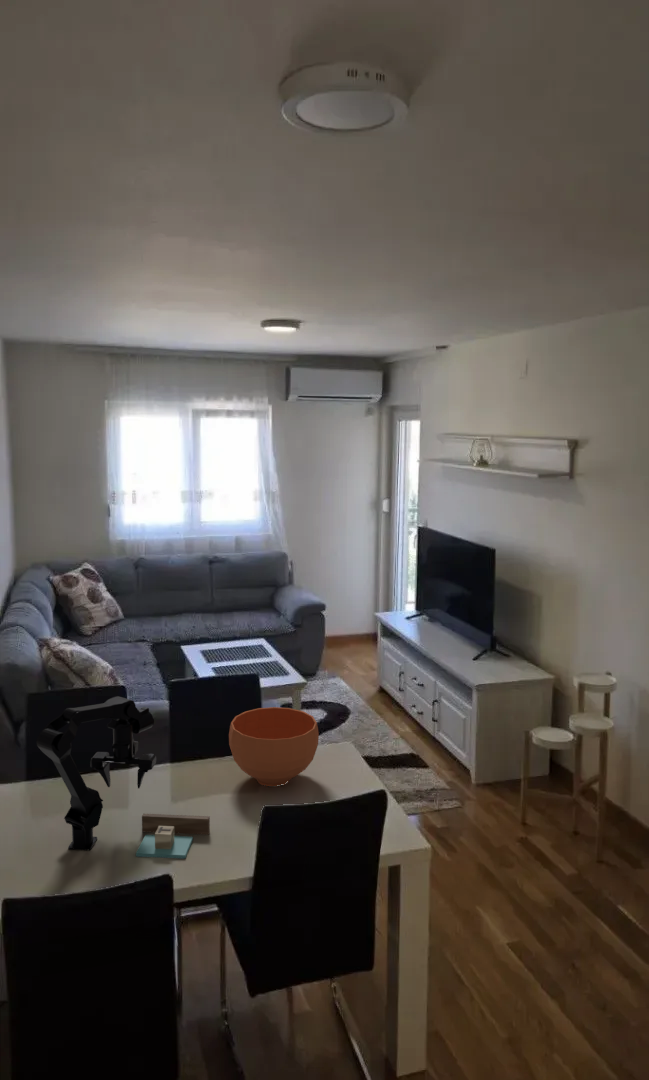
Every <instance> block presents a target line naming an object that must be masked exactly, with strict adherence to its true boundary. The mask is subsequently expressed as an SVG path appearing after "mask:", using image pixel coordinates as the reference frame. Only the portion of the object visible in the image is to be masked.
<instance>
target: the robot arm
mask: <svg viewBox="0 0 649 1080" xmlns="http://www.w3.org/2000/svg"><path fill="white" fill-rule="evenodd" d="M105 719H111V720H110V722H109V723H107V725H106V727H107V728H108V729H112V735H113V736H112V737H113V739H112V742H113V743H112V744H111V745H112V747H111V748H112V749H113V756H110V753H109V752H108V751H97V752H95V754H94V755H93V756H92V757H91V758H90V762H89V763H90V764H89V765H90V766H89V767H90V768H92V769H94V770H95V771H98V773H99V774H100V776H101V777H102V779H103V780H104V782H105V785H106V786H107V787H108V788H110V787H111V772H110V764H120V765H121V764H123V765H125V764H126V765H138V770H137V780H136V781H137V783H136V785H137V789H140V788H141V787H142V786H141V785H142V783H143V779H144V776H145V773H148V772H149V771H151V770H153V769H154V767H155V765H156V763H157V756H156V755H155V753H142V754H141V756H140V757H136V755H137V752H138V751H139V741H136V740H135V738H134V736H133V734H140V733H141V732H144V731H147V730H149V729H151V728H152V727H153V726H154V723H155V718H154V717H153V715H152V713H151V712H150V708H149V707H146V706H143V707H141V708H139V709H138V708H137V707H136V703H135V701H134V700H132V699H130V698H129V699H128V698H125V697H122V696H118V695H117V696H116V695H115V696H113V697H111V698H109V699H107V700H106V701H105V702H104V703H103V702H102V703H97V704H91V705H85V706H78V707H67V708H66V709H64V710H63V711H62V712H61V714H60V715H58V716H57V717H56V718H54V719H53V720H51V721H49V722H48V723H47V724H46V726H45V727H44V728H43V729H42V730H41V731H40V732H39V735H38V736H37V739H36V746H37V747H38V749H40V751H41V752H42V753H43V754H44V755H45V756H47V757H48V758H49V759H50V760H52V762H53V764H54V766H55V767H56V770H57V771H58V773H59V775H60V777H61V779H62V781H63V783H64V785H65V786H66V788H67V790H68V792H69V794H70V799H69V805H70V807H69V809H68V811H67V813H66V814H65V816H64V818H63V819H64V821H65V824H68V825H71V836H72V837H71V838H72V840H71V842H70V844H69V845H68V847H67V848H68V850H76V851H79V850H81V851H91V850H92V848H93V846H94V845H95V844H96V842H97V840H98V837H97V836H94V828H95V827H97V826H99V825H100V824H99V823H100V819H101V816H102V812H103V808H104V805H103V801H104V800H103V798H101V796H100V792H99V791H98V790H96V789H94V788H91V787H88V786H87V784H86V783H85V780H84V778H83V776H82V774H81V773H80V771H79V769H78V768H77V765H76V763H75V761H74V759H73V757H72V755H71V751H72V742H73V740H74V739H75V737H76V735H77V731H78V728H79V726H80V725H81V724H83V723H89V722H94V721H100V720H105ZM66 725H68V727H67V729H66V730H65V732H61V731H58V730H60V729H62V728H63V727H65V726H66ZM134 756H135V757H134Z"/></svg>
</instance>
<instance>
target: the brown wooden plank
mask: <svg viewBox="0 0 649 1080" xmlns="http://www.w3.org/2000/svg"><path fill="white" fill-rule="evenodd" d="M210 817H211V816H209V815H207V816H206V815H188V814H187V815H186V814H185V815H183V814H167V813H166V814H162V813H143V814H142V815H141V826H142V827H141V831H142V832H143V833H156V831H157V829H158V827H159V826H174V834H181V835H182V834H185V835H186V834H187V835H206V836H209V835H210V831H211V828H210V826H211V823H210V822H211V821H210V820H211V819H210Z"/></svg>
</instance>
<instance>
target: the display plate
mask: <svg viewBox="0 0 649 1080" xmlns="http://www.w3.org/2000/svg"><path fill="white" fill-rule="evenodd" d="M193 840H194V836H189V835H188V836H186V835H185V836H184V835H183V836H182V835H174V843H173V845H172V848H171V849H155V834H145V836H144V837H143V839H142V841H141V843H140V844H139V847H138V849H137V850H136V852H135V857H138V858H139V857H141V858H142V857H143V858H163V859H165V858H166V859H167V858H168V859H187V855H188V853H189V850H190V848H191V845H192V844H193Z"/></svg>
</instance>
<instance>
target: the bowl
mask: <svg viewBox="0 0 649 1080" xmlns="http://www.w3.org/2000/svg"><path fill="white" fill-rule="evenodd" d="M319 737H320V734H319V727H318V722H317V720H316V719H315V718H314V716H313V715H311V714H310V713H308V712H305V711H303V710H300V709H295V708H290V707H278V706H272V707H258V708H253V709H250V710H246V711H244V712H243V711H242V712H241V713H240V714H238V715H235V716H234V718H233V719H232V721H231V722H230V725H229V732H228V745H229V748H230V750H231V752H230V753H231V754H232V758H233V760H234V762H235V763H236V764H237V766H238V767H239V769H240V770H241V771H243V772H244V773H245V774H247V775H248V776H250V777H251V778H254V779H255V780H256V781H257V783H258V784H259V785H261V786H263V785H264V787H267V786H277V785H281V784H285V783H286V782H287V781H289V780H290V781H291V779H294V778H295V777H296V776H298V775H300V774H301V773H302V772H305V770H306V769H308V766H309V765H310V764H311V763H312V761H313V760H314V757H315V755H316V751H317V748H318V745H319ZM290 781H289V782H290ZM265 785H266V786H265Z"/></svg>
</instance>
